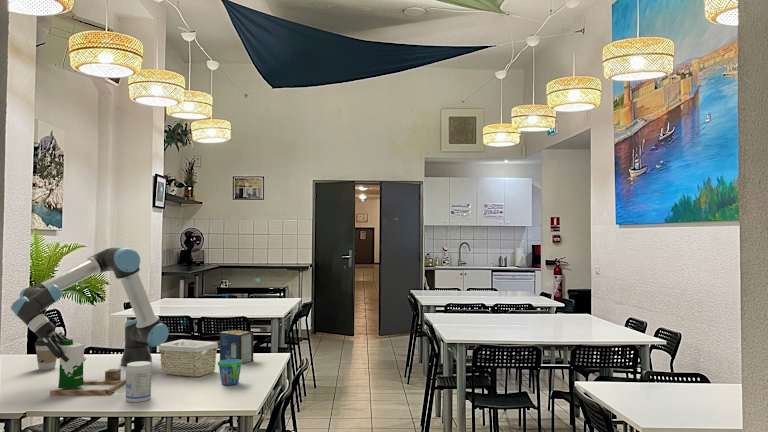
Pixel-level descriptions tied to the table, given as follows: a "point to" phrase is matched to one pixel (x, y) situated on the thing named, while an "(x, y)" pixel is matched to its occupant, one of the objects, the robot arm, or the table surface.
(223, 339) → the protein box
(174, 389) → the table surface
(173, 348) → the storage basket
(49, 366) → the coffee cup
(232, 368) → the snack cup
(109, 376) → the walnut cube
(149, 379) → the supplement tub
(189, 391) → the table surface
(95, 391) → the lane
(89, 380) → the broken strip
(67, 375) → the soya milk
